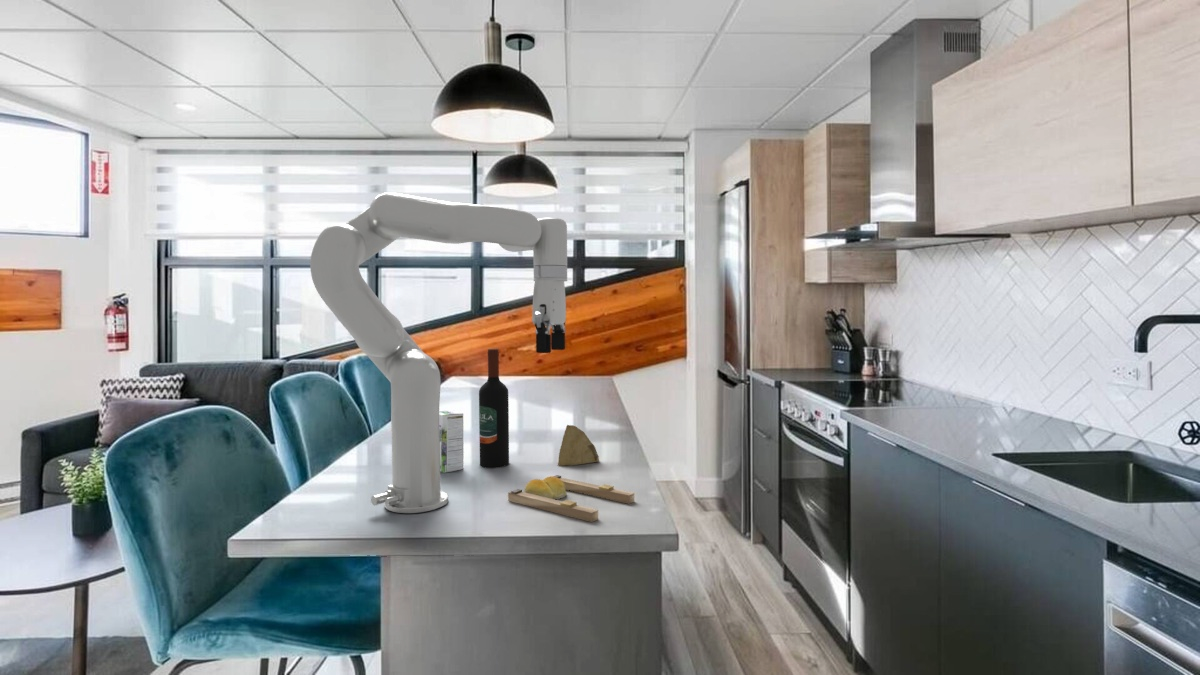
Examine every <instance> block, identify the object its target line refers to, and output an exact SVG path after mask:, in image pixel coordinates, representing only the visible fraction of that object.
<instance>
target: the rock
mask: <svg viewBox="0 0 1200 675" xmlns="http://www.w3.org/2000/svg"><path fill="white" fill-rule="evenodd" d="M599 457H600V456H599V455H598V452H597V448H596V447H595V445H594V443H593V442H592V441H591V440H590V439H589V437H588V436H587V434H586V433H585V431H583V430H581V429H580V428H578V426H576V425H571V424H567V425H566V427H565V430H564V434H563V437H562V441H561V446H560V449H559V453H558V462H557V466H558V465H559V466H558V467H561V466H578V465H579V466H580V465H584V464H590V463H596V462H600V458H599Z"/></svg>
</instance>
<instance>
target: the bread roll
mask: <svg viewBox="0 0 1200 675" xmlns="http://www.w3.org/2000/svg"><path fill="white" fill-rule="evenodd" d="M523 492H525V493H529V494H534V495H538V496H542V497H546V498H550V499H554V500H555V499H557V500H561V499H564V497H566V496H567V493H568V492H567V490H566V488H565V484H564V483H563V482H562V480H560V479H559V478H557V477H553V476H547V477H545V478H543V479H538V478H535V479H532V480H530V481H528V483H527V484H526V486H525V488H524V491H523ZM560 498H561V499H560Z"/></svg>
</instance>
